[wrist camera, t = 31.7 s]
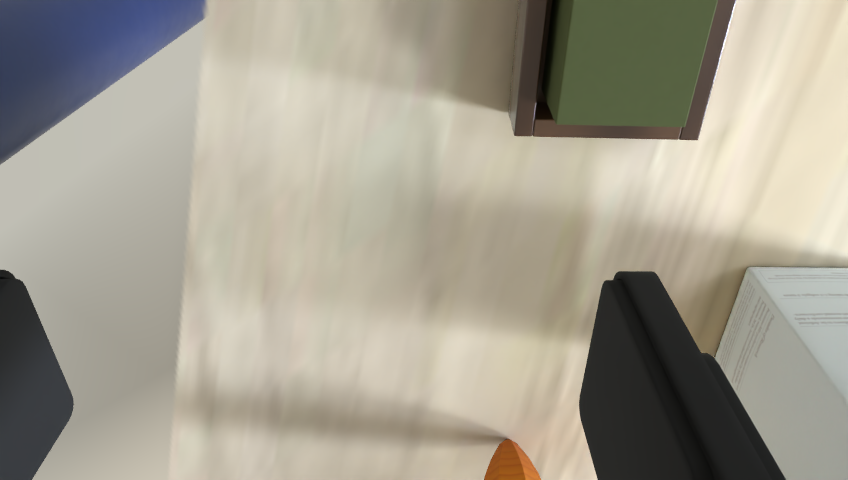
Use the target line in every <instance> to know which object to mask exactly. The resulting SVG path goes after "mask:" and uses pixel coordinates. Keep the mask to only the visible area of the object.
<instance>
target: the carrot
mask: <svg viewBox="0 0 848 480" xmlns="http://www.w3.org/2000/svg"><path fill="white" fill-rule="evenodd" d="M484 480H541V478H540V476H539V474H538V472H537V470H536V469H535V467H534V465H533V464H532V462H531V461H530V459H529V457H528V456H527V455H526V454H525V453H524V452H523V450H522V449H521V448H520V447H519V446H518V444H517V443H515V442H513V441H512V440H509V439H506V440H504V441H503V442H502V443H501V444H499V446H498V448H497V450H496V451H495V453H494V455H493V457H492V459H491V461H490V464H489V466H488V469H487V472H486V475H485V478H484Z"/></svg>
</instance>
